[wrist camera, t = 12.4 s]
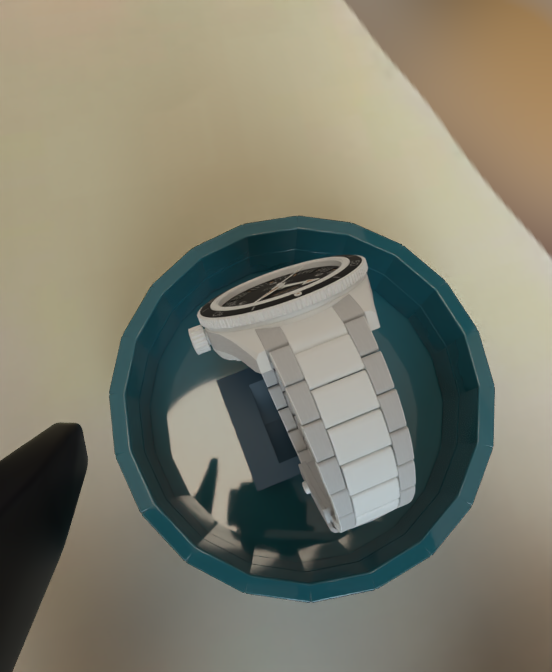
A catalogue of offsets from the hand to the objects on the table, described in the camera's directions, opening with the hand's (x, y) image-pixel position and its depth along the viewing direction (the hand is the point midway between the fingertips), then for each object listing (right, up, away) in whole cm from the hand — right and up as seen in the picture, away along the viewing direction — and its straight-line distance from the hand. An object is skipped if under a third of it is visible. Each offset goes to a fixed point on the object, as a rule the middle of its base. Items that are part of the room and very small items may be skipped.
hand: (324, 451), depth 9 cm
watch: (0, -1, +13) cm, 13 cm away
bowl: (0, -1, +13) cm, 13 cm away
